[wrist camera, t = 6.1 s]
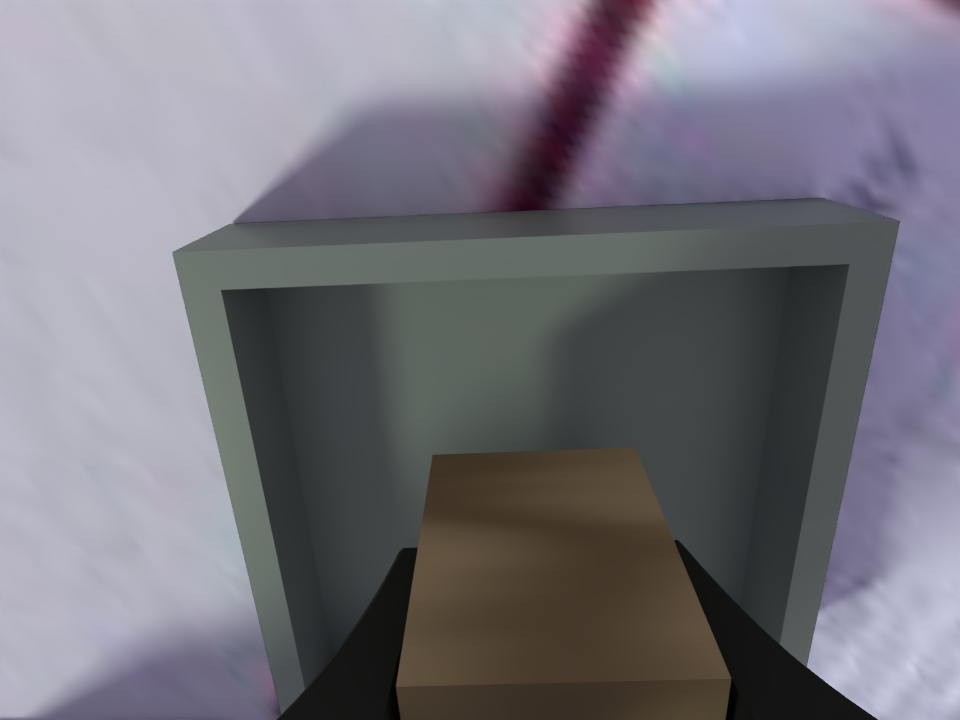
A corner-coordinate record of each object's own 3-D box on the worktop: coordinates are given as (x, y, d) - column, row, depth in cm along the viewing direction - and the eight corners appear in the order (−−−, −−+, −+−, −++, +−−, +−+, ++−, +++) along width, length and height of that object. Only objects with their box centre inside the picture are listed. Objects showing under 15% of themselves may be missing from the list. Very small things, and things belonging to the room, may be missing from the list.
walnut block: (446, 609, 16) (423, 885, 10) (432, 454, 14) (395, 686, 9) (626, 604, 16) (702, 881, 10) (634, 447, 14) (731, 679, 8)
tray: (315, 656, 20) (288, 744, 18) (230, 223, 15) (172, 252, 12) (750, 646, 20) (792, 733, 17) (822, 197, 15) (900, 221, 12)
